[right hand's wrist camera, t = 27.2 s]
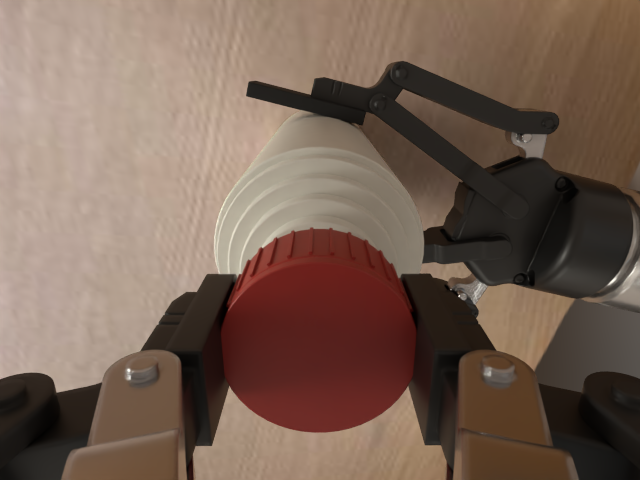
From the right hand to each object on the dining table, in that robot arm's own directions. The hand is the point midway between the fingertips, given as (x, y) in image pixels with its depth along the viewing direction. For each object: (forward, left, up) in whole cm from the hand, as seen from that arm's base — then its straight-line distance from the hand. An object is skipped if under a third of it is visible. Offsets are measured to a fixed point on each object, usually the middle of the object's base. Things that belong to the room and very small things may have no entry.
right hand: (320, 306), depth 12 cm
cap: (0, 0, +2) cm, 2 cm away
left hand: (-3, -4, -16) cm, 17 cm away
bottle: (0, 0, -23) cm, 23 cm away
